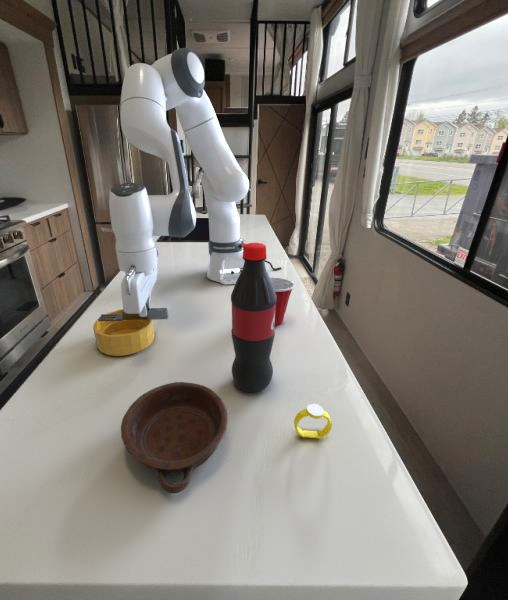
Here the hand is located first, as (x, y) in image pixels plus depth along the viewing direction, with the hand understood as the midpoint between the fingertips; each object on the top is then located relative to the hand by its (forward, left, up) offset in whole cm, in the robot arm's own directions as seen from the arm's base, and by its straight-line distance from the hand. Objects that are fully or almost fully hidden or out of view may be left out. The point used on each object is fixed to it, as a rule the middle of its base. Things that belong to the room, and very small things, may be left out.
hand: (145, 312), depth 80 cm
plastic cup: (-33, -9, -8) cm, 35 cm away
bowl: (+6, 0, -8) cm, 10 cm away
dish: (-11, +31, -8) cm, 34 cm away
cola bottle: (-25, +17, -8) cm, 32 cm away
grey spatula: (+3, 0, -2) cm, 3 cm away
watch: (-34, +31, -8) cm, 47 cm away
